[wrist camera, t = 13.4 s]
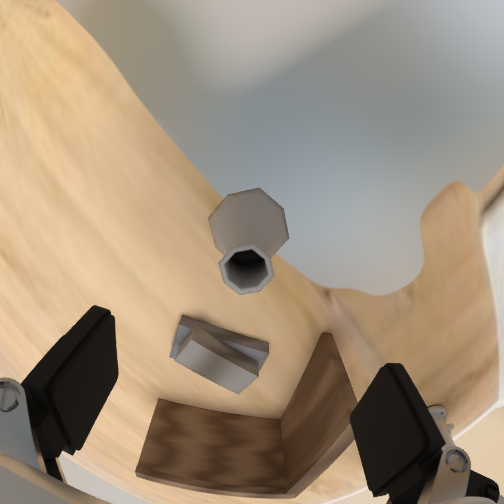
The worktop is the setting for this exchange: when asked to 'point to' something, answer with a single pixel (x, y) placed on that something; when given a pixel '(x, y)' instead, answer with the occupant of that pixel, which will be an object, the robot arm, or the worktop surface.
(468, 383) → the worktop surface
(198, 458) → the brown wooden corner wall
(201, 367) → the offcut top
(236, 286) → the flask
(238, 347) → the tray
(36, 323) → the worktop surface
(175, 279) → the worktop surface
